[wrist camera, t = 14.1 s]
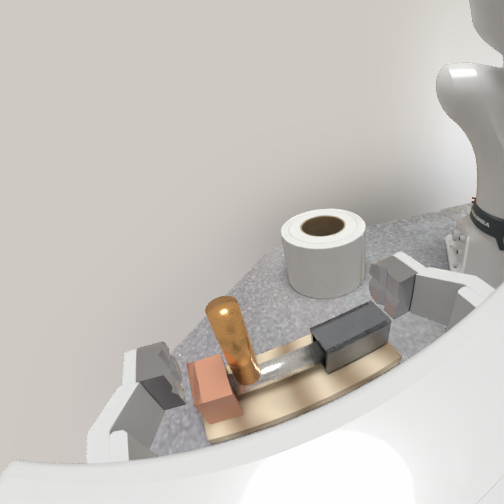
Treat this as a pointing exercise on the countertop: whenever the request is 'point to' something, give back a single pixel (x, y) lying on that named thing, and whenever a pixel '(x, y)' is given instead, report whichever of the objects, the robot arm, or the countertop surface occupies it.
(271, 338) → the countertop surface
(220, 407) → the socket
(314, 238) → the toilet paper roll
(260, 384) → the tube
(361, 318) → the sleeve
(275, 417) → the board
